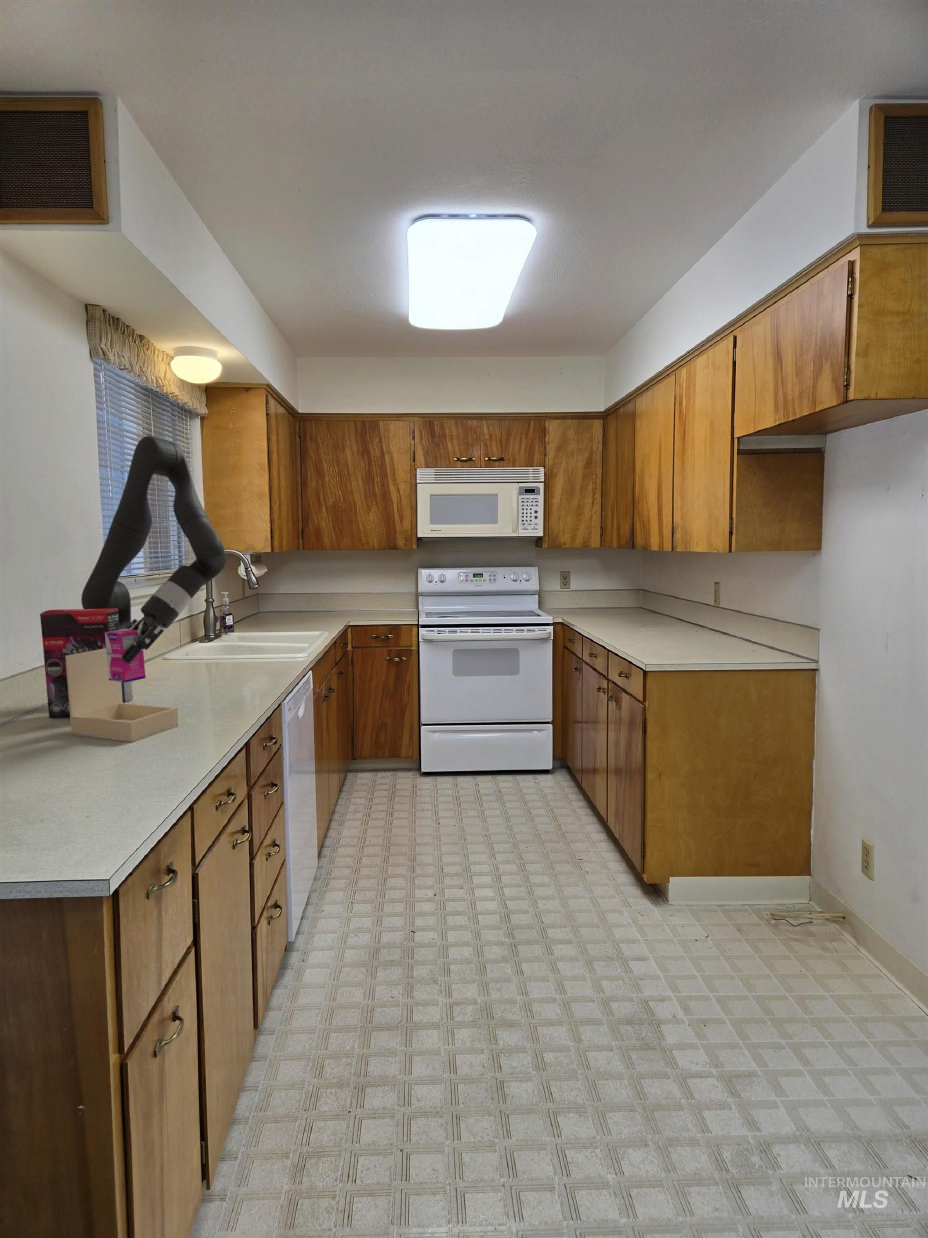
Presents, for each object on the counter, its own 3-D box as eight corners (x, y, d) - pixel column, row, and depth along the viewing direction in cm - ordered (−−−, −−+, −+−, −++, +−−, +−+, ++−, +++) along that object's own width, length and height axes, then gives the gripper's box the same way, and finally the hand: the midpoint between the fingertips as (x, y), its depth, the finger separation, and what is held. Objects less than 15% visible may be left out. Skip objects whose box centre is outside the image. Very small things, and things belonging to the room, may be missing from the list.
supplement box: (107, 681, 162) (103, 631, 161) (130, 676, 167) (126, 628, 166) (124, 683, 159) (120, 633, 158) (146, 678, 164) (143, 629, 163)
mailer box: (71, 735, 161) (65, 655, 159) (120, 720, 174) (115, 646, 172) (132, 742, 155) (126, 659, 153) (178, 726, 168) (173, 649, 166)
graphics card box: (46, 719, 176) (37, 611, 173) (61, 713, 183) (52, 608, 180) (115, 718, 176) (107, 610, 173) (127, 711, 183) (120, 607, 180)
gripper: (142, 592, 171) (94, 645, 164) (166, 595, 161) (116, 652, 154) (166, 612, 175) (120, 665, 169) (190, 616, 165) (143, 672, 159)
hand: (118, 658), depth 161 cm, fingers closed on supplement box, 7 cm apart
